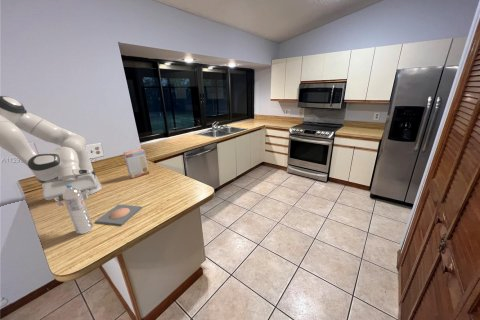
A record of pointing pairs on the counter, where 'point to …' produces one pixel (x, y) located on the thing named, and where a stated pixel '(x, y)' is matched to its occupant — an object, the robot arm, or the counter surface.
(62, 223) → the counter surface
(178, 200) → the counter surface
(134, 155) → the cracker box
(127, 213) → the spot mat
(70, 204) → the water bottle
